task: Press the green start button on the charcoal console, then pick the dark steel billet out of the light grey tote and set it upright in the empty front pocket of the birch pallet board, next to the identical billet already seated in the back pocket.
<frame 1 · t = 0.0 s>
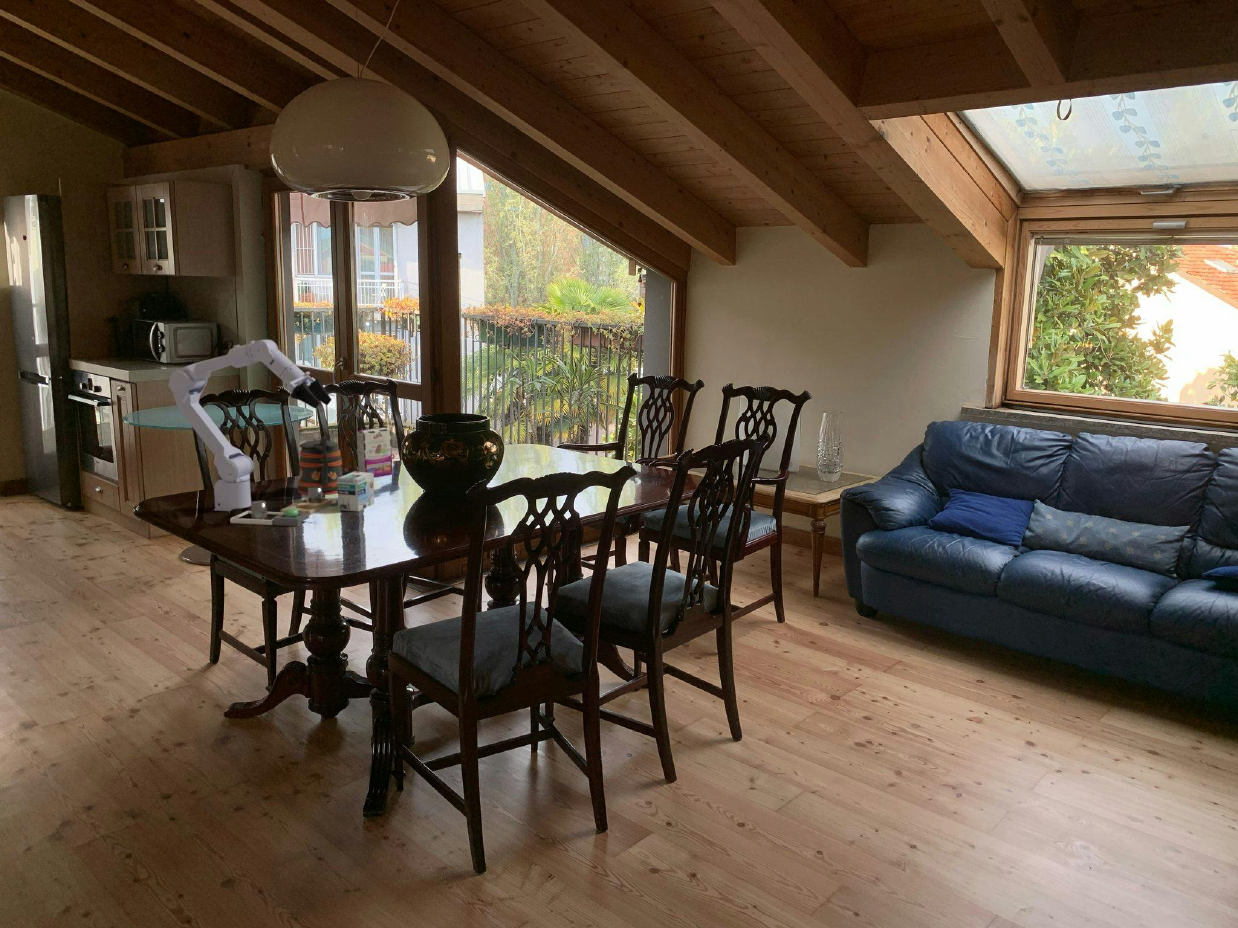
hand: (323, 404, 265), 32 cm above the table, tool tilted 50°, fingers open, 7 cm apart
candy bar box: (375, 476, 326), on the table
tote: (259, 521, 261), on the table
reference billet: (315, 503, 278), point 1 cm above the table, touching pallet board
billet: (259, 519, 261), resting on tote
pallet board: (309, 511, 274), on the table
light bulb box: (356, 511, 276), on the table
start button: (291, 513, 258), point 3 cm above the table, slide at 0.0 cm
console: (291, 524, 259), on the table
dark striped rounded piece: (323, 496, 295), on the table
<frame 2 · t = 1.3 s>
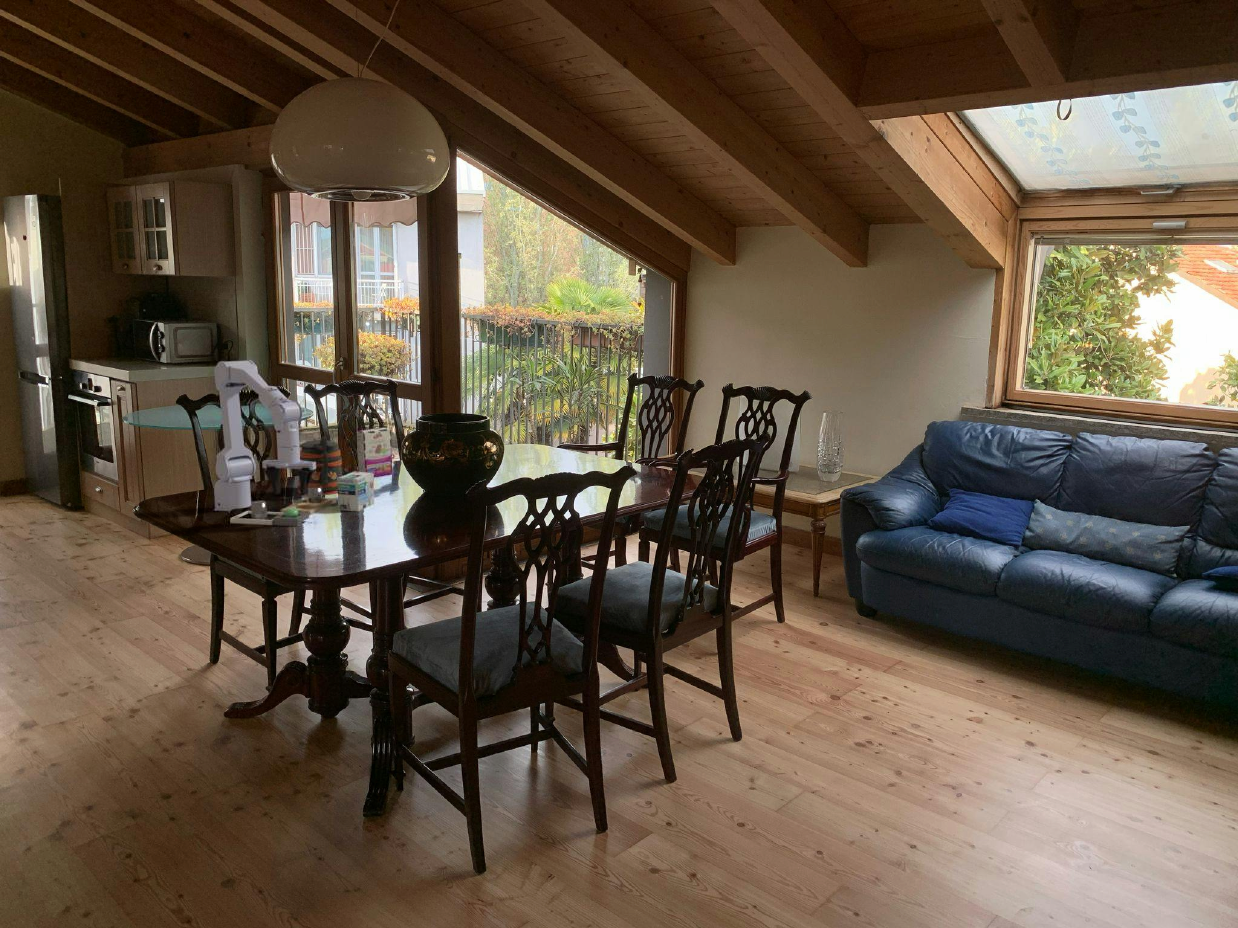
hand: (290, 494, 257), 9 cm above the table, tool pointing down, fingers open, 7 cm apart
nothing on the table moved.
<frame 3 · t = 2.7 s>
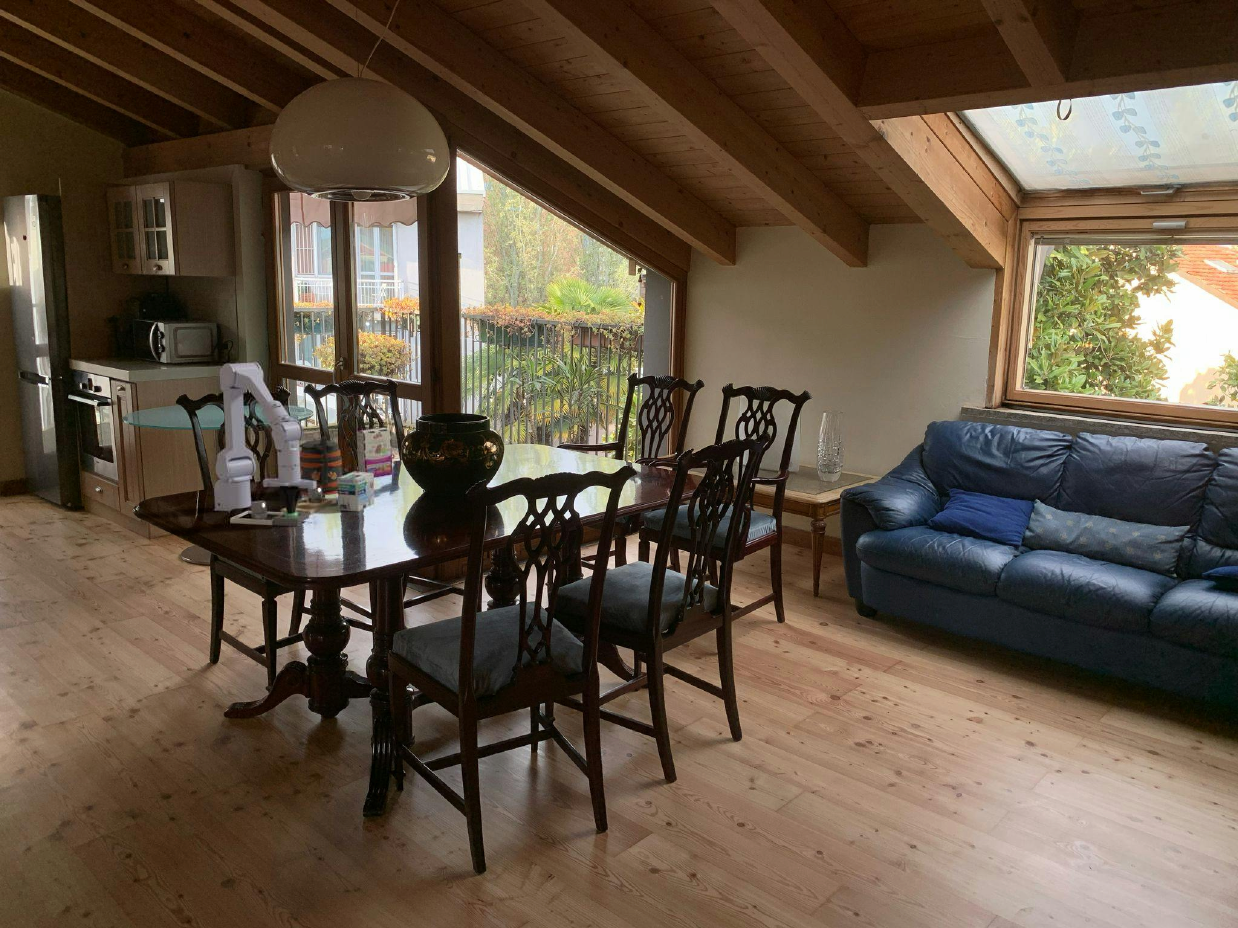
hand: (291, 512, 258), 3 cm above the table, tool pointing down, fingers closed, pressing on start button
start button: (291, 516, 258), point 2 cm above the table, slide at -0.7 cm, touching gripper
everything else where it was.
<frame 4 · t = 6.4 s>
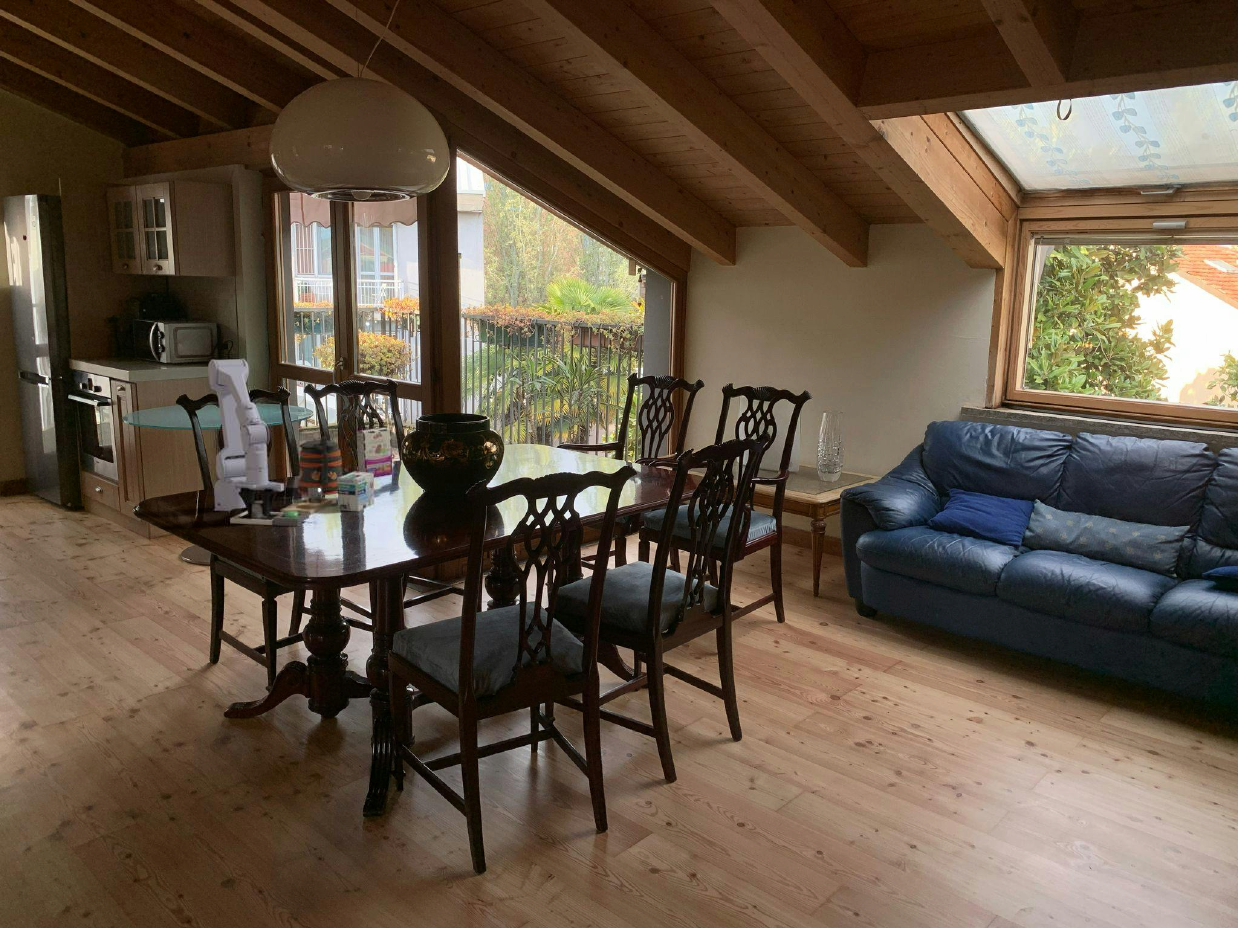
hand: (259, 514, 260), 2 cm above the table, tool pointing down, fingers closed on billet, 4 cm apart
billet: (259, 519, 261), resting on tote, touching gripper
start button: (291, 515, 258), point 2 cm above the table, slide at -0.6 cm
everything else where it was.
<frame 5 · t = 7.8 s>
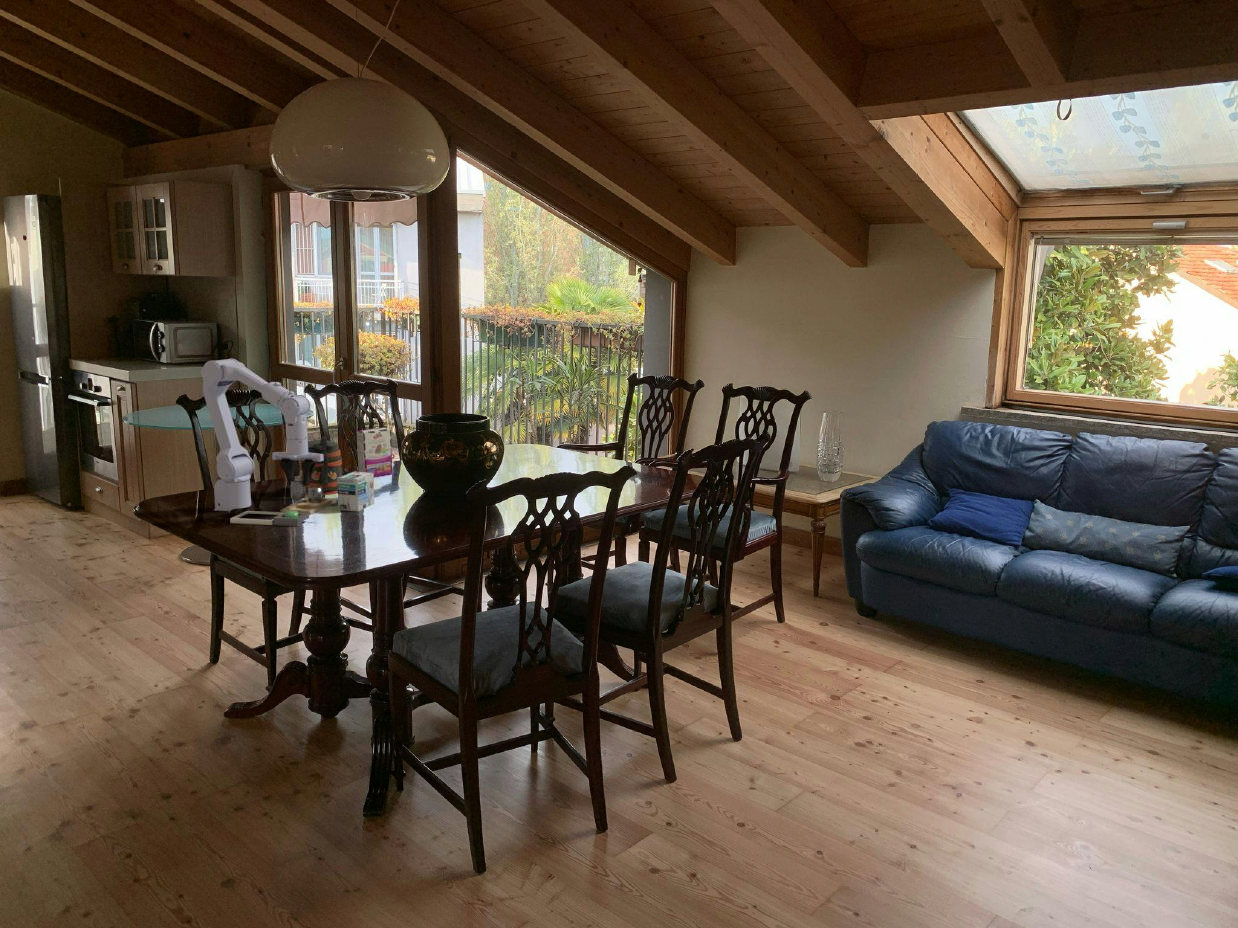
hand: (299, 485, 267), 9 cm above the table, tool pointing down, fingers closed on billet, 4 cm apart
billet: (298, 497, 267), point 5 cm above the table, touching gripper
everything else where it was.
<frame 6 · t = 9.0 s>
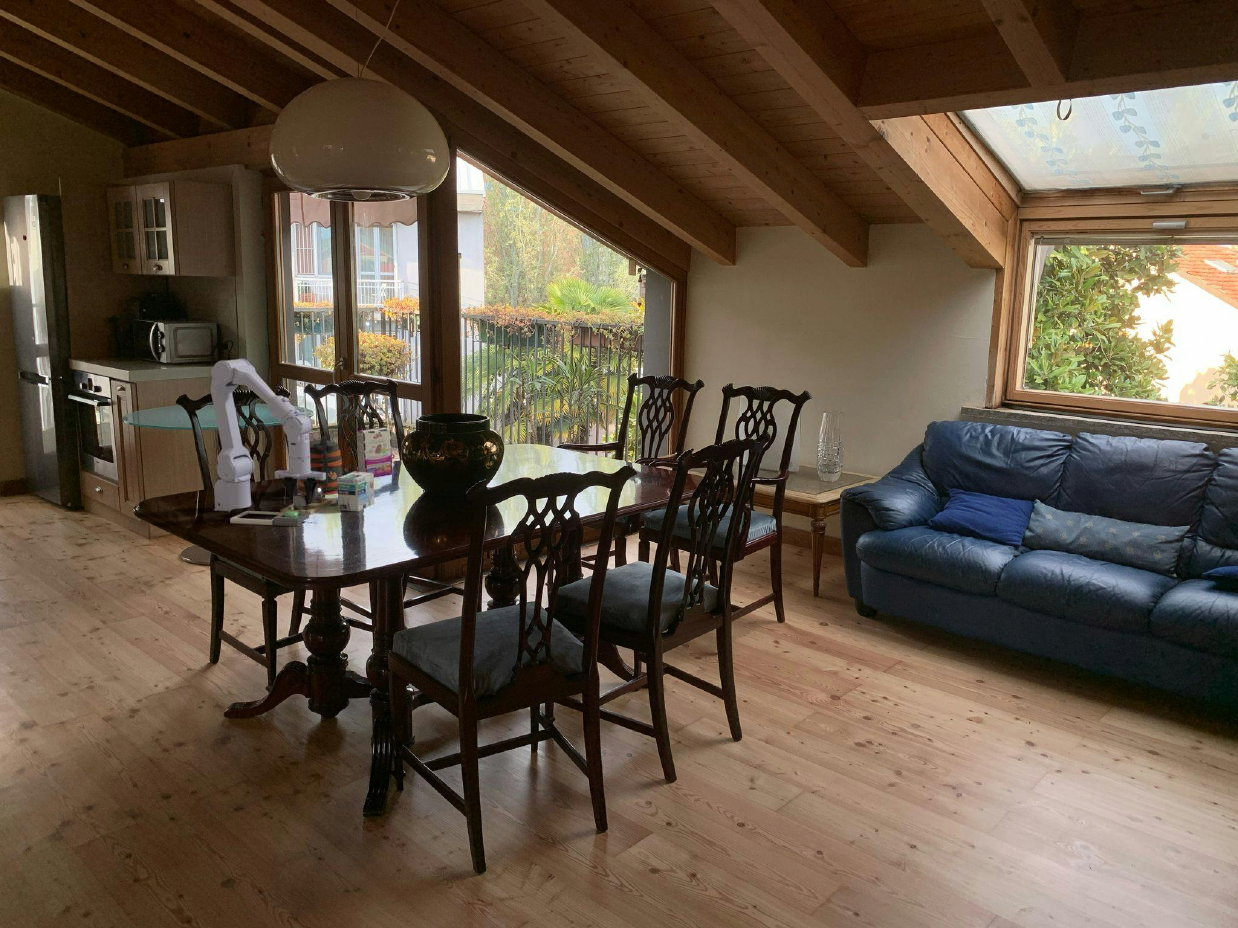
hand: (301, 503, 269), 3 cm above the table, tool pointing down, fingers closed on billet, 4 cm apart
billet: (300, 511, 268), point 1 cm above the table, touching gripper, pallet board
everything else where it was.
when the fingers open (3 cm above the table, at t = 9.3 s): billet stays where it is, resting on pallet board.
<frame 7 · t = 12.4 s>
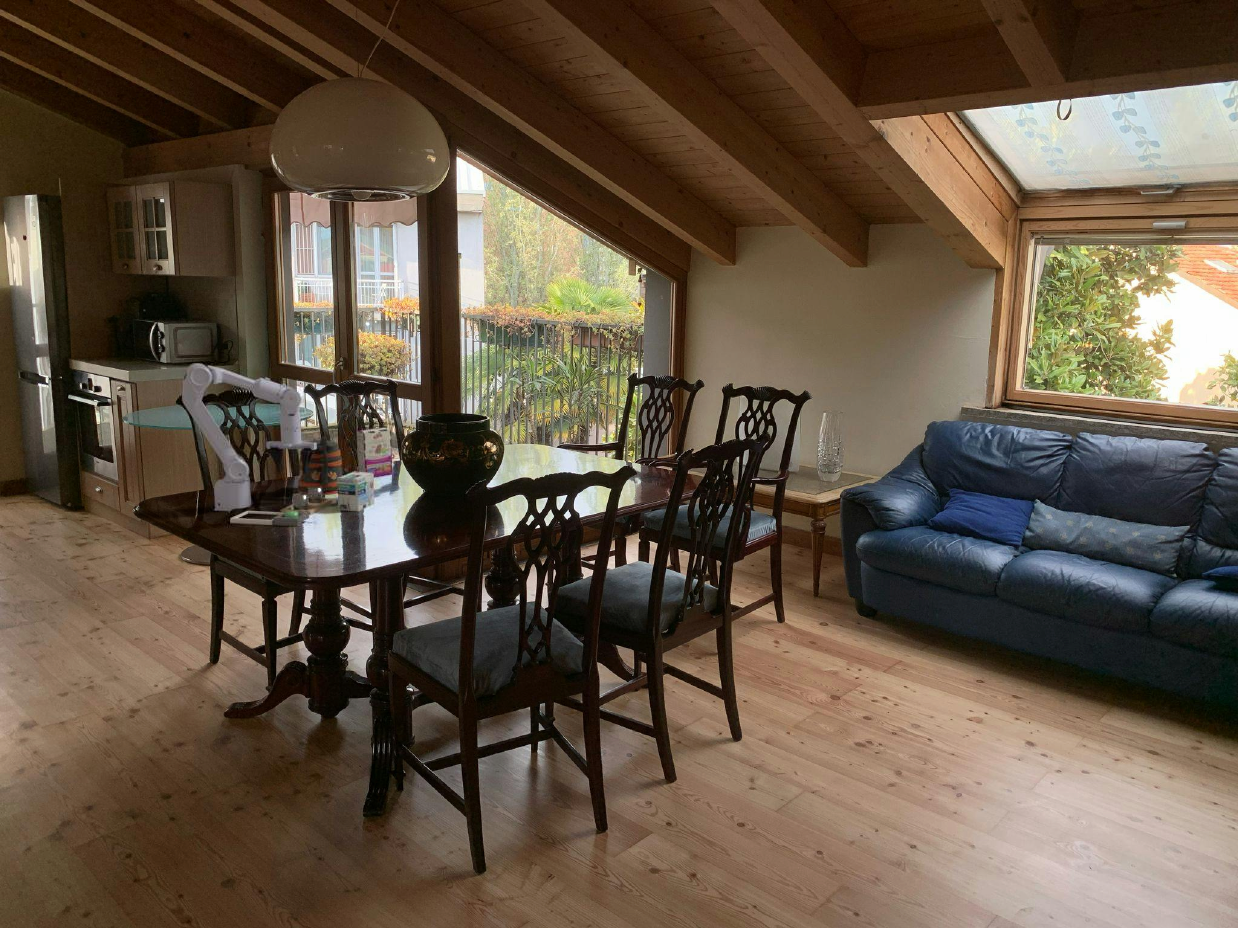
hand: (292, 472, 279), 10 cm above the table, tool pointing down, fingers open, 7 cm apart
billet: (300, 511, 268), point 1 cm above the table, touching pallet board
everything else where it was.
at the end: billet 0.8 cm from the target spot on the pallet board, point 1.2 cm above the pallet board's base; billet tilted 0°; the gripper is holding nothing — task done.
